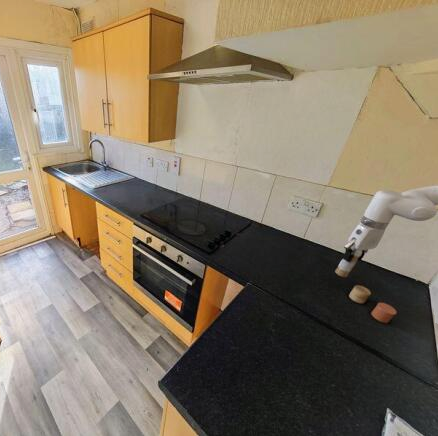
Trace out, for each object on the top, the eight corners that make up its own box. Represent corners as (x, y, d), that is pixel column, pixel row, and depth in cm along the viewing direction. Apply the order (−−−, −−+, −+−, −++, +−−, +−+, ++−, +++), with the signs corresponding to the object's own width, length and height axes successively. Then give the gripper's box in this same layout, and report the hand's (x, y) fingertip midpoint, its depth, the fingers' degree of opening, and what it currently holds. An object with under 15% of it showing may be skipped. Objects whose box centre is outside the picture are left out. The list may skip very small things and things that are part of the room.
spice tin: (355, 292, 97) (361, 284, 94) (367, 302, 93) (374, 293, 90) (345, 294, 96) (351, 286, 93) (357, 304, 92) (364, 295, 89)
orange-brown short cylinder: (377, 310, 89) (384, 301, 87) (392, 321, 85) (400, 312, 82) (367, 312, 88) (374, 303, 86) (382, 324, 84) (389, 315, 81)
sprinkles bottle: (340, 269, 102) (354, 245, 95) (350, 276, 98) (365, 252, 92) (332, 271, 101) (345, 247, 95) (341, 278, 97) (356, 253, 91)
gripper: (366, 229, 81) (343, 268, 90) (401, 225, 85) (376, 262, 94) (346, 219, 88) (326, 256, 97) (380, 216, 91) (358, 251, 100)
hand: (351, 259), depth 95 cm, fingers closed on sprinkles bottle, 4 cm apart
